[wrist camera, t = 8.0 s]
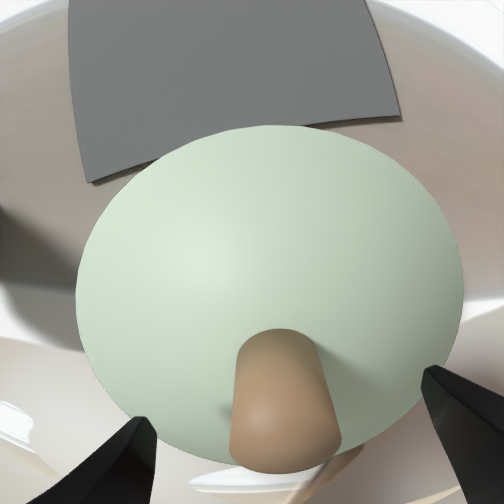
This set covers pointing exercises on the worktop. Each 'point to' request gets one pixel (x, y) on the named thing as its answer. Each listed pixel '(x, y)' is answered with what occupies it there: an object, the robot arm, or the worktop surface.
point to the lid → (269, 296)
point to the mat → (215, 72)
